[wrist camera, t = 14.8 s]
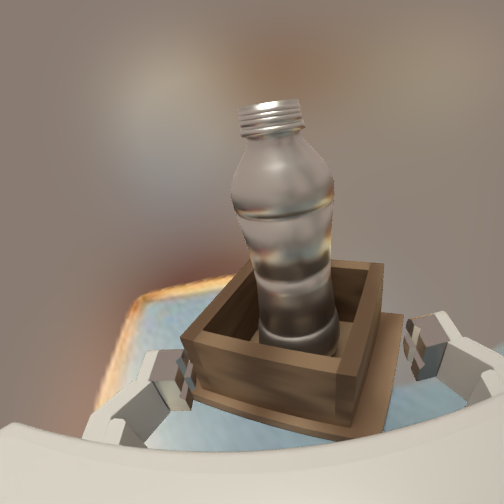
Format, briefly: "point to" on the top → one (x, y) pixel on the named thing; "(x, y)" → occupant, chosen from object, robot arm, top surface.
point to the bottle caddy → (300, 359)
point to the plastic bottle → (287, 228)
